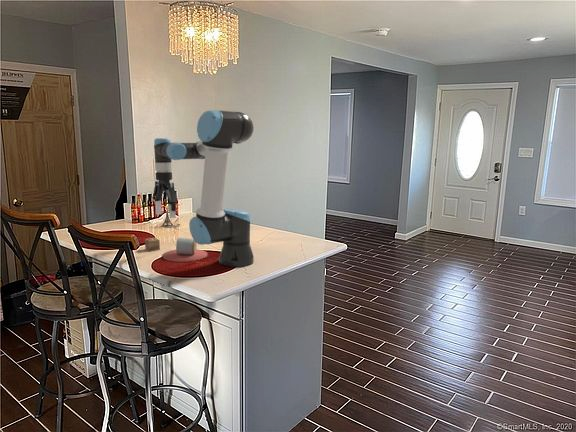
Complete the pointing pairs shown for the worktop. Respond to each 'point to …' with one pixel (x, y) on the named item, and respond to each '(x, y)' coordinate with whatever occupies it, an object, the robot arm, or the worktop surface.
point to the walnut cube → (152, 244)
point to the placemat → (184, 256)
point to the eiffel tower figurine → (168, 222)
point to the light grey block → (185, 246)
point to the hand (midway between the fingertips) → (165, 216)
